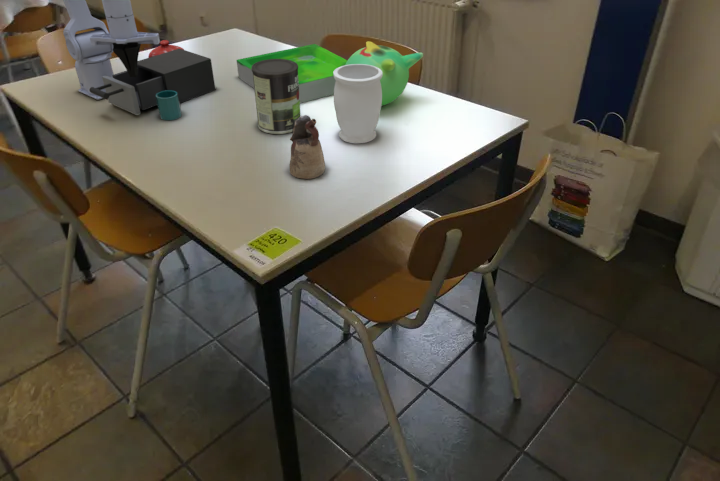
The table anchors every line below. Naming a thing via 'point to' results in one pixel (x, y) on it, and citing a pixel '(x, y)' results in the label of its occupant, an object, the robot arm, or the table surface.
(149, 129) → the table surface
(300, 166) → the figurine
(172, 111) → the container
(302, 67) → the tray
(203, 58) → the dark grey storage box
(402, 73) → the toy bird
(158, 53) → the butter dish
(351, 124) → the jar
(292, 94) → the coffee can
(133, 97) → the drawer
